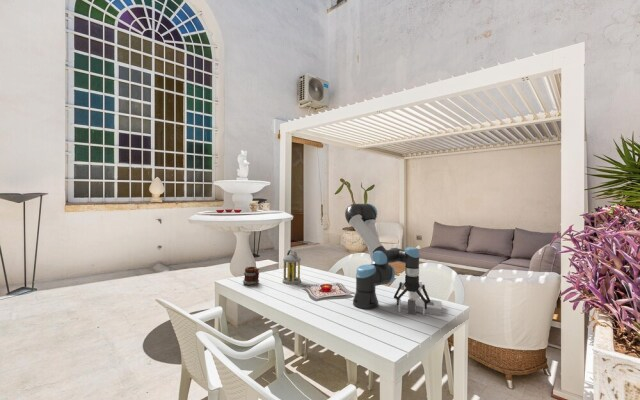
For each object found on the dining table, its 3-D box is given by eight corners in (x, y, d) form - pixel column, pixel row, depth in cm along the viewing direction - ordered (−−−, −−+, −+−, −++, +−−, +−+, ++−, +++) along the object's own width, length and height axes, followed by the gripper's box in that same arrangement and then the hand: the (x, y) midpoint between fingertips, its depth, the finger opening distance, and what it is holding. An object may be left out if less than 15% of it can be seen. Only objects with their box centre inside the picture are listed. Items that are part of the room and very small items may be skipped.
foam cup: (422, 303, 187) (422, 282, 187) (407, 302, 189) (407, 281, 189) (420, 298, 196) (420, 278, 196) (405, 297, 198) (406, 277, 198)
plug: (407, 313, 170) (407, 299, 170) (408, 311, 173) (408, 297, 173) (414, 314, 168) (415, 300, 168) (415, 312, 172) (415, 298, 172)
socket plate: (415, 311, 173) (415, 305, 173) (416, 303, 186) (416, 298, 186) (441, 315, 168) (441, 309, 168) (441, 307, 181) (441, 301, 181)
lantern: (278, 281, 231) (279, 249, 231) (293, 278, 241) (293, 247, 241) (289, 285, 221) (290, 251, 221) (304, 282, 230) (305, 249, 230)
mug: (252, 280, 233) (254, 261, 231) (263, 287, 224) (265, 267, 222) (239, 282, 225) (241, 263, 223) (249, 290, 215) (252, 270, 213)
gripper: (389, 274, 172) (388, 311, 172) (435, 279, 163) (434, 318, 163) (390, 271, 179) (390, 307, 179) (435, 275, 170) (434, 313, 170)
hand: (411, 312), depth 171 cm, fingers open, 12 cm apart
